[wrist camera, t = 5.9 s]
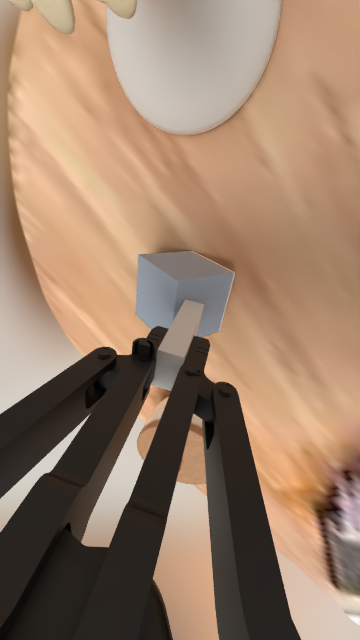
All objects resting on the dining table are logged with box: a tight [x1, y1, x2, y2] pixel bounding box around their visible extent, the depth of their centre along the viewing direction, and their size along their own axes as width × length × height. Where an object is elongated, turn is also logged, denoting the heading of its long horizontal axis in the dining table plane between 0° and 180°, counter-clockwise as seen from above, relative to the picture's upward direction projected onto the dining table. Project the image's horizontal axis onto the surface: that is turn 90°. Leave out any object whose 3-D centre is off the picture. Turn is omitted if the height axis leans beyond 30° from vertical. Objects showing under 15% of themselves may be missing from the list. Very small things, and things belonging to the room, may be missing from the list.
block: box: [136, 251, 235, 337], centre depth 23 cm, size 6×6×6 cm
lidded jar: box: [137, 396, 206, 484], centre depth 32 cm, size 11×11×9 cm
